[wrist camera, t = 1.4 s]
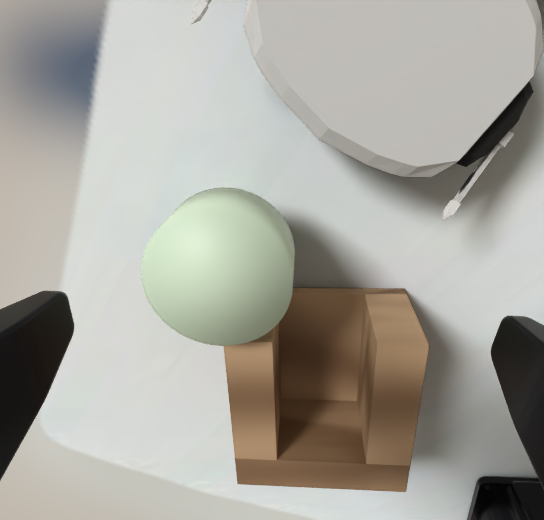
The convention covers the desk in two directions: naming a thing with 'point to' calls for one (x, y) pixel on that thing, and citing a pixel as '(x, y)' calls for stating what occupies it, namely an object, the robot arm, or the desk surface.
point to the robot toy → (401, 76)
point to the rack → (330, 392)
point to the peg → (221, 267)
